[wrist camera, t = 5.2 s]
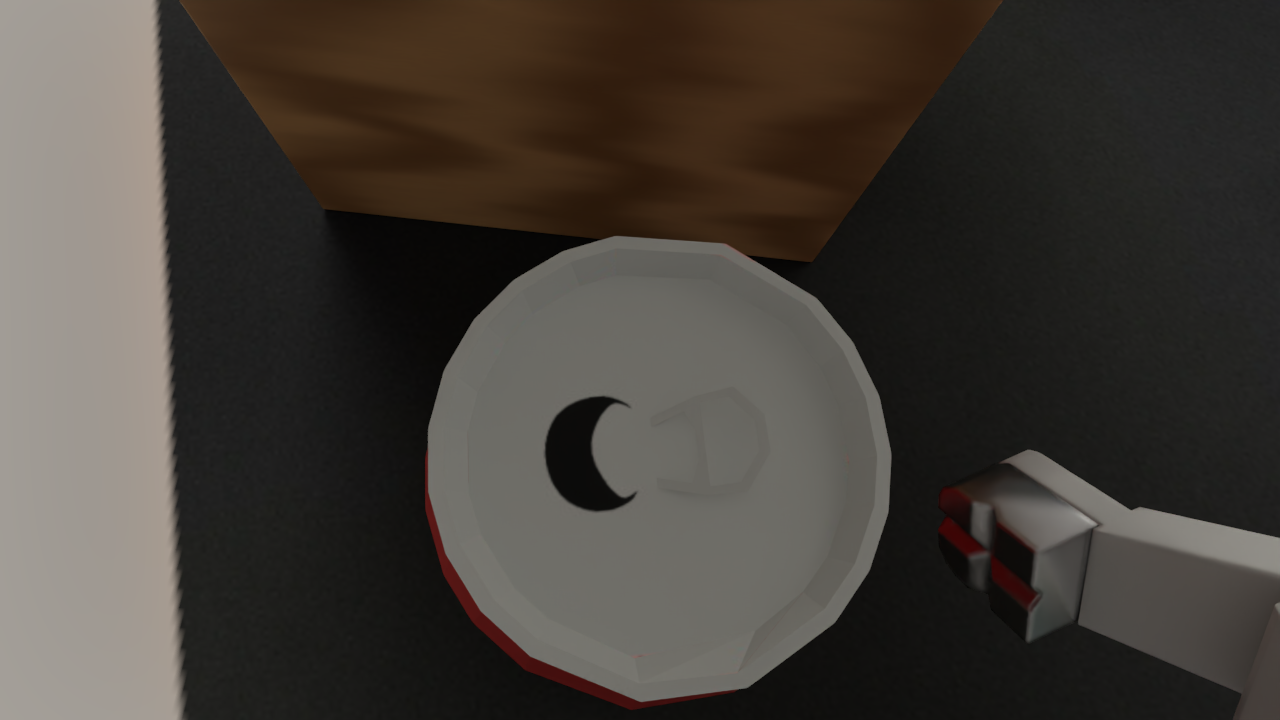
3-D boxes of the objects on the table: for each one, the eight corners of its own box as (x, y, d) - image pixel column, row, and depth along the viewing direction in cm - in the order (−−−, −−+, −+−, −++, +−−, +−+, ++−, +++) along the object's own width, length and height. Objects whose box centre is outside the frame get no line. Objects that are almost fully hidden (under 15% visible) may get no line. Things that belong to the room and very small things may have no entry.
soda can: (701, 419, 19) (876, 188, 8) (727, 624, 18) (992, 701, 6) (504, 434, 19) (389, 207, 7) (512, 648, 17) (379, 781, 6)
